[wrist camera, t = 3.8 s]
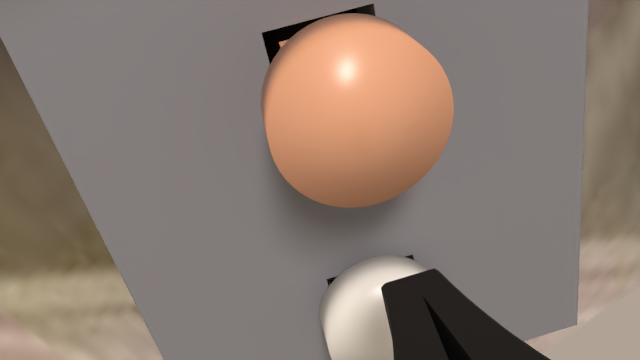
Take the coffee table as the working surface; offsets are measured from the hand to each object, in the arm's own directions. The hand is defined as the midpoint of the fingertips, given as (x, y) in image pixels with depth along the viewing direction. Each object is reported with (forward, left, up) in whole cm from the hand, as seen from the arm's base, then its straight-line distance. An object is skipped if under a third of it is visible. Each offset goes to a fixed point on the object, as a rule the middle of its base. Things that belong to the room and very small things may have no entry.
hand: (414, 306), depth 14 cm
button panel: (0, +1, -8) cm, 8 cm away
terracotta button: (0, -4, -6) cm, 7 cm away
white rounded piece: (0, +5, -8) cm, 9 cm away
